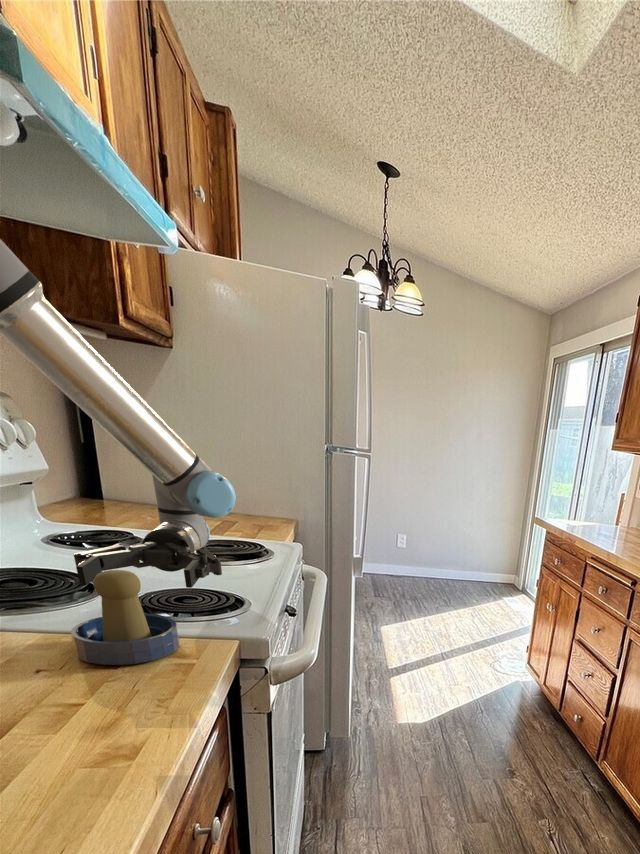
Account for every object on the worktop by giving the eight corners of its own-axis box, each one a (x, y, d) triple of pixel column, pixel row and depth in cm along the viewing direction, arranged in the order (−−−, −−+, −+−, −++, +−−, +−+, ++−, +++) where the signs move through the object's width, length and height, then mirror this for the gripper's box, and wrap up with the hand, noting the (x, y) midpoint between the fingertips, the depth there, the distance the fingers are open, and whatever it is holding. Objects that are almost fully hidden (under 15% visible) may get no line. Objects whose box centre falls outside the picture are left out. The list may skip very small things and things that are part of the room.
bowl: (57, 666, 72) (51, 641, 71) (102, 633, 83) (98, 611, 82) (161, 668, 75) (156, 644, 73) (191, 637, 86) (188, 615, 84)
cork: (93, 649, 77) (75, 571, 72) (134, 637, 82) (120, 563, 78) (125, 659, 75) (109, 580, 71) (164, 646, 80) (152, 571, 76)
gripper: (249, 569, 105) (231, 603, 87) (94, 564, 98) (40, 600, 79) (245, 529, 102) (226, 555, 84) (85, 520, 94) (26, 547, 76)
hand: (135, 577), depth 81 cm, fingers open, 13 cm apart
